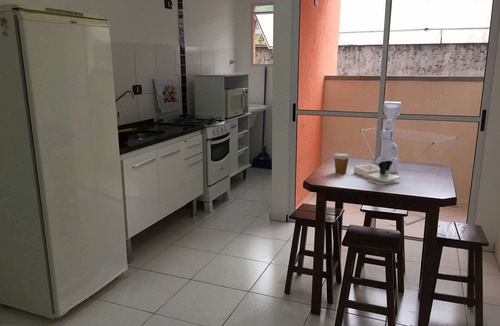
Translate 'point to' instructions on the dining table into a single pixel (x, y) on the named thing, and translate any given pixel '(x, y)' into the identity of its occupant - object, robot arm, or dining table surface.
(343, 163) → the disposable coffee cup
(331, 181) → the dining table surface
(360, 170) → the tub
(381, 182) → the mat
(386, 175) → the lid
